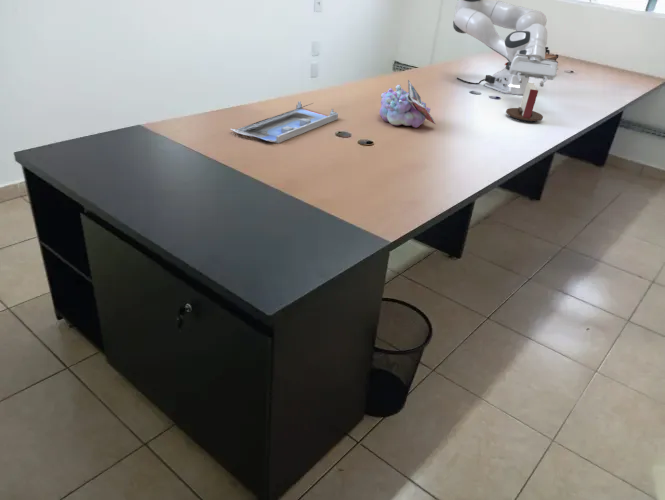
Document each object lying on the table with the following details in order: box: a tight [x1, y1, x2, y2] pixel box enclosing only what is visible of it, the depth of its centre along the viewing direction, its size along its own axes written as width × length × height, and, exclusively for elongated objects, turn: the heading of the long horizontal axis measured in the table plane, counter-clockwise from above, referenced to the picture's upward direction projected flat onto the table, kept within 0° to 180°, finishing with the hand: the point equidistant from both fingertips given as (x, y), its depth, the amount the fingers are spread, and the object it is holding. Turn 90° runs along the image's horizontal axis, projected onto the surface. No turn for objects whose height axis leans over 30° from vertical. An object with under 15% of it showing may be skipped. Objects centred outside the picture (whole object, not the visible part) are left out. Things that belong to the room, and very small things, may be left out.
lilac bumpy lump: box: [379, 79, 436, 129], centre depth 219 cm, size 20×22×18 cm
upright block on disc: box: [505, 81, 544, 122], centre depth 242 cm, size 16×16×13 cm
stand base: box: [509, 115, 538, 124], centre depth 246 cm, size 12×12×1 cm
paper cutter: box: [230, 101, 339, 144], centre depth 203 cm, size 18×45×6 cm, turn 148°
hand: (530, 84), depth 245 cm, fingers open, 8 cm apart
